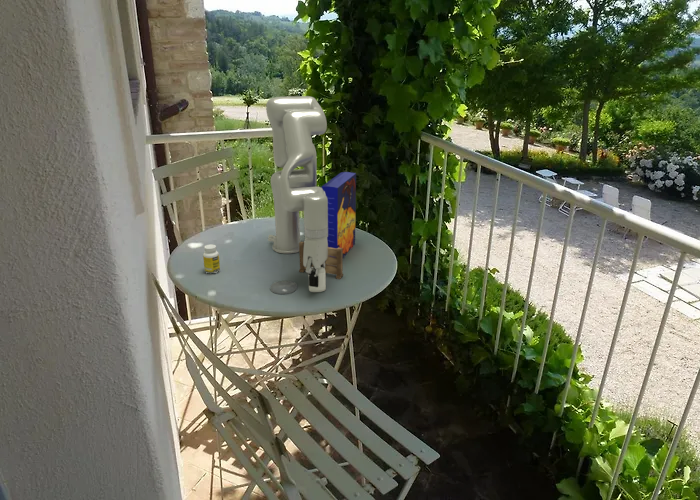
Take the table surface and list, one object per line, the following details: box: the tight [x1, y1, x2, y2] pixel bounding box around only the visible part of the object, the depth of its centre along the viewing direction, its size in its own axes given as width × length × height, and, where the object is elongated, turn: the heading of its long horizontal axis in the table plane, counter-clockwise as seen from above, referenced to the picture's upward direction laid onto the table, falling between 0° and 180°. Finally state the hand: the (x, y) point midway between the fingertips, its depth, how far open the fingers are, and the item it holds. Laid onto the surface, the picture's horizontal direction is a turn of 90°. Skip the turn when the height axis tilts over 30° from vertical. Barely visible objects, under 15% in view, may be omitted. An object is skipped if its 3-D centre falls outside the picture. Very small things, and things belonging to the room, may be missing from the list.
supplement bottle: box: [202, 244, 221, 274], centre depth 179 cm, size 5×5×10 cm
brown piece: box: [298, 240, 344, 280], centre depth 177 cm, size 16×3×11 cm, turn 69°
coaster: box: [269, 280, 298, 295], centre depth 169 cm, size 9×9×1 cm
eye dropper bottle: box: [307, 266, 327, 293], centre depth 166 cm, size 4×6×12 cm
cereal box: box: [321, 171, 357, 259], centre depth 191 cm, size 22×6×30 cm, turn 162°
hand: (317, 282), depth 167 cm, fingers open, 4 cm apart
